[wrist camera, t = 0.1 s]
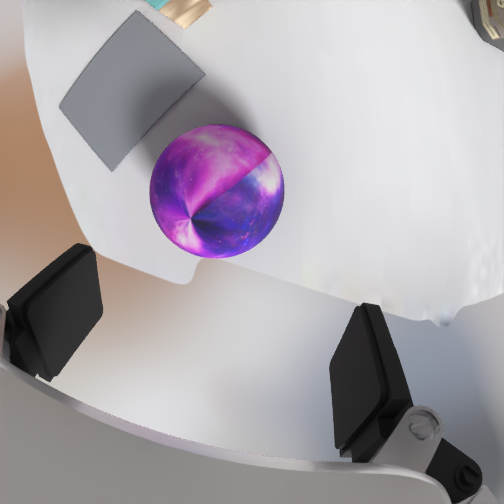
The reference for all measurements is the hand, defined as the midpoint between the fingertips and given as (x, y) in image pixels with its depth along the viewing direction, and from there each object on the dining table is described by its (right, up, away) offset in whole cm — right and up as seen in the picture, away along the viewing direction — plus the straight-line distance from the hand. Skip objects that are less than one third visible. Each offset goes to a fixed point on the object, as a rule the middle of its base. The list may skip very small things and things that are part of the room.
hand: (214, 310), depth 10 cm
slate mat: (-17, +25, +25) cm, 40 cm away
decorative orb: (-2, +12, +29) cm, 32 cm away
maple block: (-7, +35, +19) cm, 40 cm away
